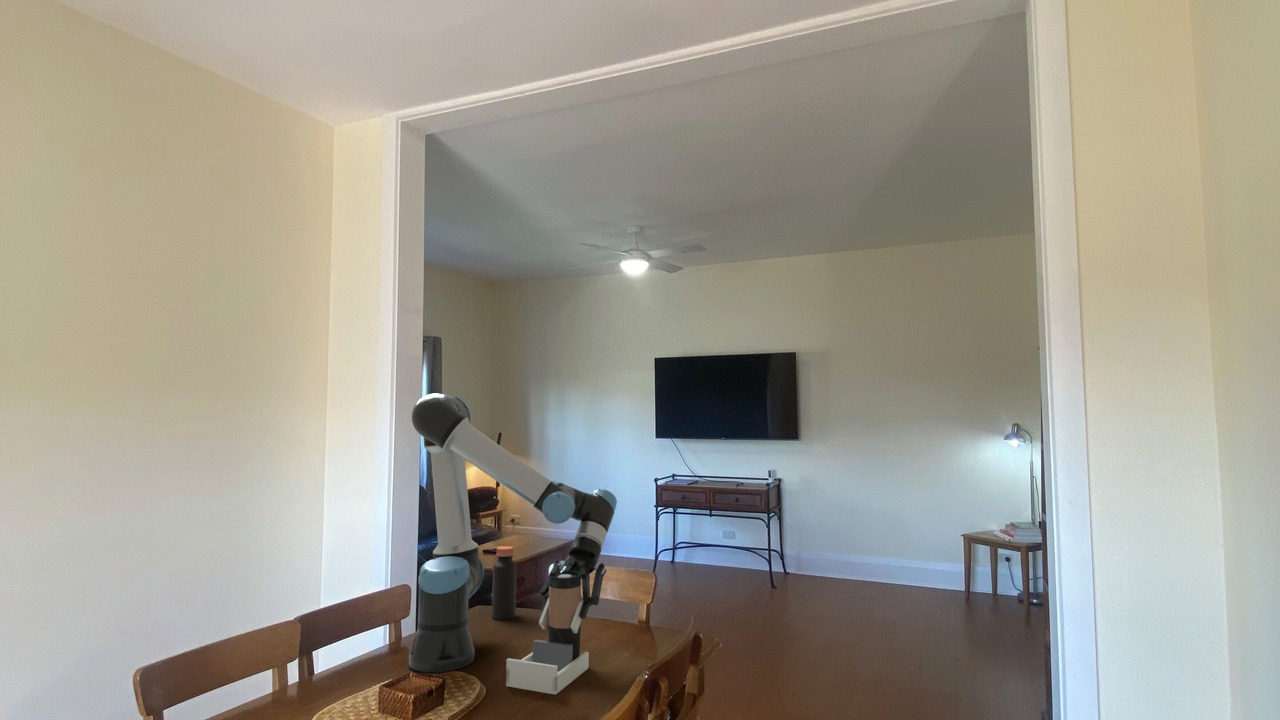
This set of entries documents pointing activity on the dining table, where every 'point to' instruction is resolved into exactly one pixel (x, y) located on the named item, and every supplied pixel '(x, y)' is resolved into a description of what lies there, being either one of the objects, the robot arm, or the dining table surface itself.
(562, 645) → the block
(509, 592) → the bottle
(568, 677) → the white open box
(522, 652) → the dining table surface
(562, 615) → the travel mug
